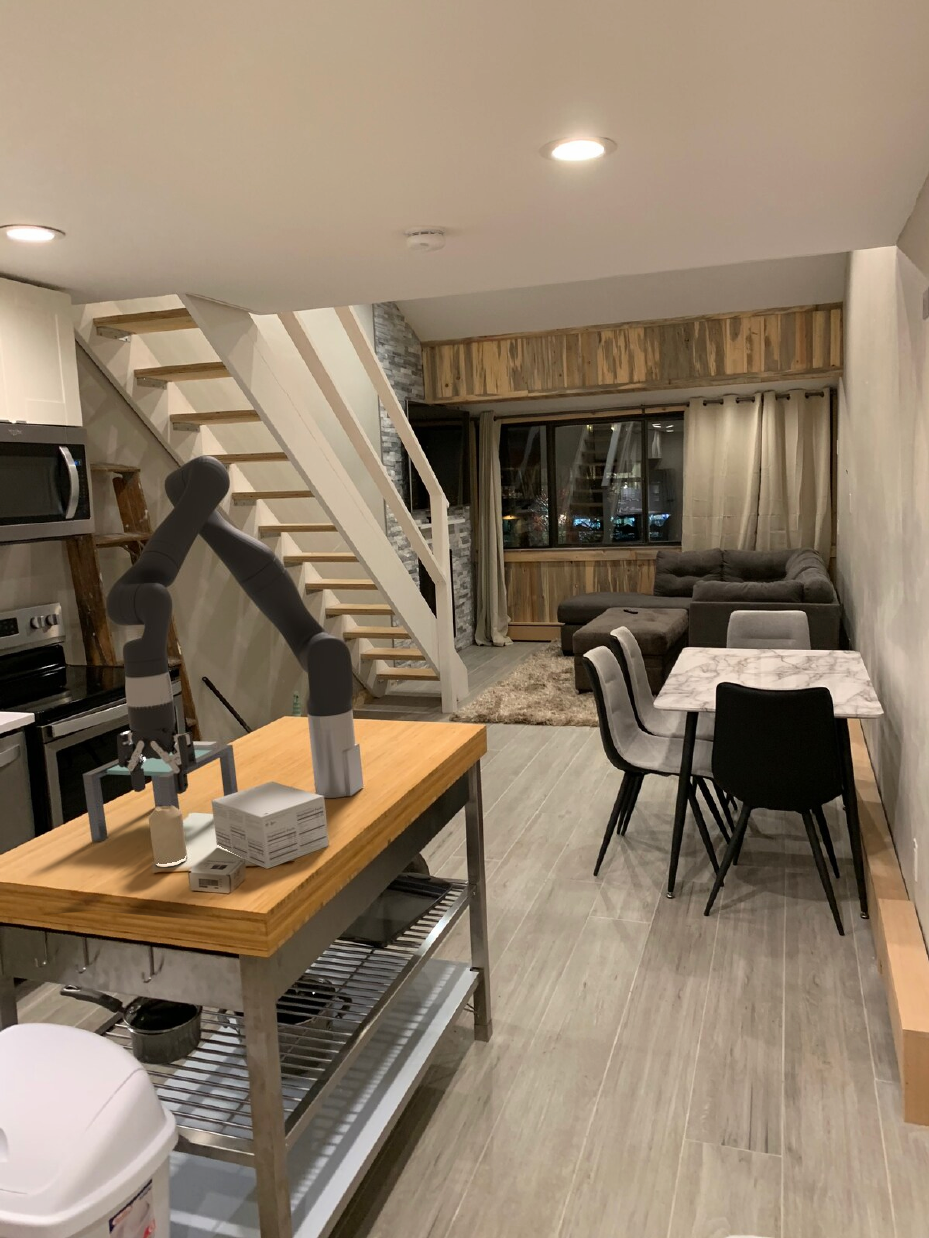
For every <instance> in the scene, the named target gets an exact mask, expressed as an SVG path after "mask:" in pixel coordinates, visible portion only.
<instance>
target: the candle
mask: <svg viewBox="0 0 929 1238" xmlns="http://www.w3.org/2000/svg"><path fill="white" fill-rule="evenodd" d="M148 823H149V830H150V832H149V833H150V839H151V846H152V855H153V863H154V865H155V864H158V863H159V864H167V863H172V862H177V861H179V860H181V859H184V858H185V856H186V855H187V856H188V850H187V843H186V835H185V828H184V827H185V826H184V820H183V812H182V810H180V808H179V809H177V808H176V807H175V806H173V805H172V806H170V807H167V806H162V807H155V808H154V809H153V811H152V812H151V814H150V815H149V816H148Z"/></svg>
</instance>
